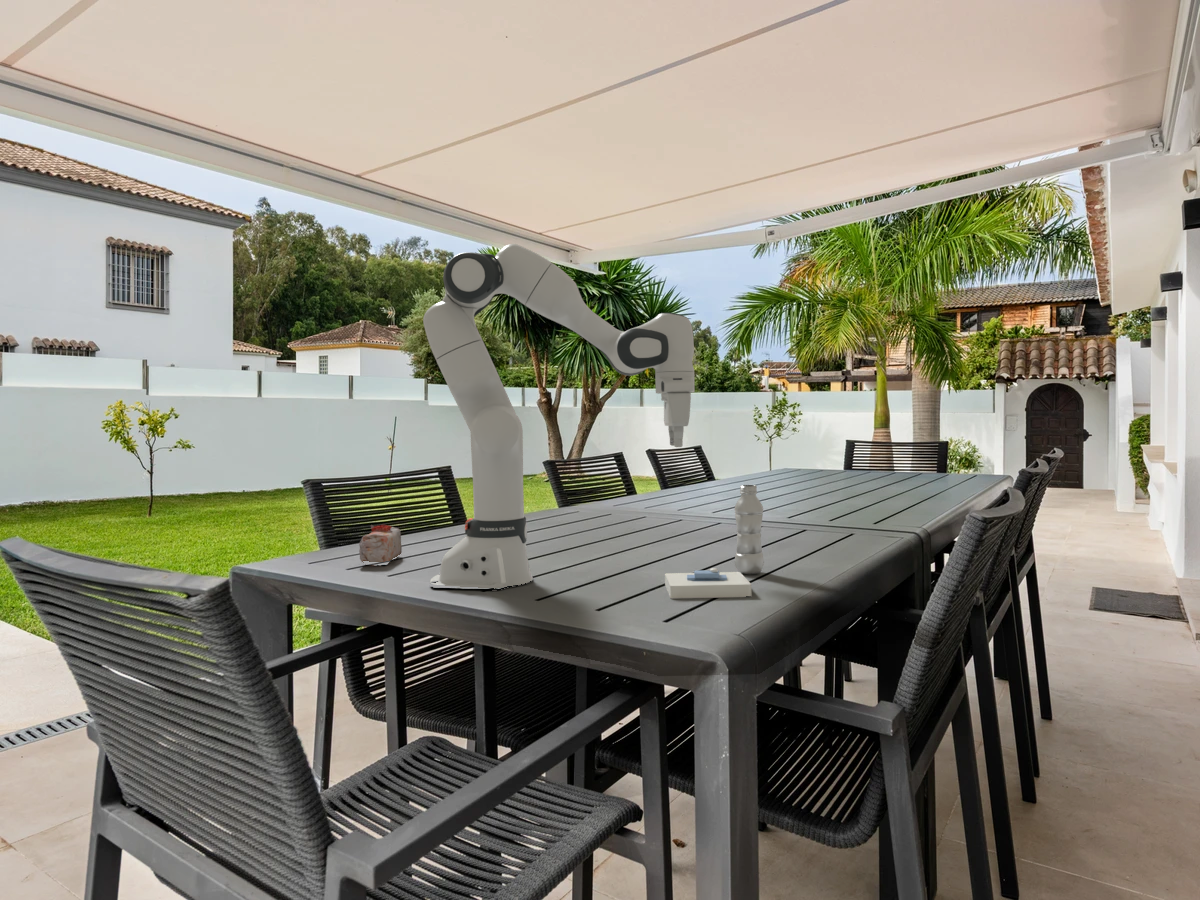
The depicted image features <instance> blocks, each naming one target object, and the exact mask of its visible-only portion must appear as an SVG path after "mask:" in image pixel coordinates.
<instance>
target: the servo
mask: <svg viewBox="0 0 1200 900" xmlns="http://www.w3.org/2000/svg"><path fill="white" fill-rule="evenodd" d="M693 573H694V575H687V580H694V581H719V580H727V577H726V575H719V569H718V568H715V567H714V568H713V567H712V568H709V570H704V569H703V570H693Z"/></svg>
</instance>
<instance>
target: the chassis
mask: <svg viewBox="0 0 1200 900" xmlns="http://www.w3.org/2000/svg"><path fill="white" fill-rule="evenodd" d="M687 575H694V572H677V573H676V572H673V573H672V572H671V573H670V572H669V573H668V572H666V573H664V586H665V589H666V590H667V593H668V596H669V598H670V599H711V598H712V599H713V598H716V599H717V598H718V599H719V598H747V597H746V596H751V597H752V583H751V582H750V581H749V580H748V579H747V578H746V577H745V575H743V573H741V572H738V571H722V572H721V571H720V572H719V575H726V577H727V580H719V581H694V580H687Z"/></svg>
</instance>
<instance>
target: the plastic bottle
mask: <svg viewBox="0 0 1200 900" xmlns="http://www.w3.org/2000/svg"><path fill="white" fill-rule="evenodd" d="M739 487H740V488H739V489H740V491H739V494H740V497H739V498H738V500H737V502H736V503H735V506H734V517H735V518H734V519H735V523H736V533H737V534H736V540H737V541H736V552H735V555H734V556H735V557H734V567H735V569H736V572H740V573H741V574H746V575H752V574H753V575H754V574H758V573H761V572H762V571H763V569H764V564H765V561H764V554H763V549H762V523H763V514H764V506H763V504H762V502H761V501H760V499H759V498H758V497H757V494H758V491H757V484H742V485H740V486H739Z"/></svg>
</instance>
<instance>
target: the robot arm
mask: <svg viewBox="0 0 1200 900" xmlns="http://www.w3.org/2000/svg"><path fill="white" fill-rule="evenodd" d="M442 275H443V276H442V279H443V285H444V291H445V293H444V297H443V298H442V300H440V301H439V302H437V303H434V304H433V305H431V306H430V307H429V308H428V309H427V310H426V311H425V313H424V315H423V318H422V319H423V321H422V322H423V327H424V331H425V334H426V335H425V336H426V338H427V341H428V345H429V347H430V350H431V352H432V354H433V357H434V359H435V361H436V363H437V366H438V367H439V370H440V372H441V374H442V376H443V378H444V380H445V382H446V385H447V387H448V389H449V391H450V393H451V395H452V397H453V399H454V401H455V403H456V405H457V407H458V408H459V411H460V413H461V415H462V417H463V419H464V420H465V423H466V425H467V427H468V429H469V432H470V433H469V434H470V451H471V469H472V486H473V487H472V488H473V489H472V493H473V494H472V495H473V496H472V498H473V518H472V517H471V518H470V517H469V518H468V519H467V520H466V521H465V523H464V532H465V533H464V534H465V535H466V536H465V537H463V538H462V539H461V540H459V541H458V542H457V543H456V544H454V546H453V547H451V548H450V549H449V550H448V551H447V552H445V554H444V555H443V557H442V559H441V563H440V569H439V574H440V575H439V574H438V573H437V574H436V575H434V576H433V577H431V578H430V580H429V584H430V583H431V582H433V581H438V582H436V583H431V584H433V585H445V586H460V587H478V588H494V589H495V588H503V587H507V586H512V587H514V586H513V585H518V586H522V585H525V583H526V584H529V583H531V582H532V581H533V580H534V577H533V574H532V571H531V568H530V564H529V559H528V558H529V557H528V553H527V541H528V540H527V539H528V522H527V518H526V516H525V504H524V502H525V501H524V499H525V498H524V495H525V494H524V441H523V439H524V437H523V425H522V422H521V420H520V418H519V416H518V415H517V413H516V411H515V409H514V407H513V404H512V402H511V400H510V398H509V396H508V392H507V391H506V389H505V387H504V384H503V382H502V380H501V378H500V376H499V373H498V371H497V368H496V366H495V365H494V363H493V360H492V358H491V356H490V354H489V351H488V349H487V347H486V345H485V342H484V341H483V340H484V339H482V336H481V335H480V332H479V330H478V327H477V325H476V321H475V317H476V316H477V315H478V314H480V313H481V312H482V311H483V310H485V309H486V307H488V306H489V305H490V303H491V302H492V300H493V298H494V296H495V295H498V294H499V295H500V294H504V295H507V296H509V297H511V298H514V299H515V300H517V301H518V302H519V303H521V304H522V305H524V306H525V307H526V308H528V309H530V310H532V311H533V312H534V313H537V314H539V315H541V316H542V317H544V318H546V319H548V320H549V321H550V320H551V321H553V322H555V323H557V324H559V325H561V326H563V327H566V328H567V329H569V330H571V331H573V332H574V333H575V334H576V335H578V336H579V337H581V338H583V339H584V340H586V341H587V342H588V343H589V344H591V345H592V346H593V347H595V348H597V349H598V350H599V351H600V352H602V354H603V355H604V356H605V358H606V359H607V361H608V363H609V365H610V366H611V367H612V368H613V369H614V370H615V371H616V372H617V373H619V374H620V375H622V376H628V377H631V376H637V375H639V374H641V373H642V372H644V371H645V370H647V369H650V368H651V369H654V371H655V374H654V375H655V377H654V380H655V394H657V395H659V394H660V397H661V398H660V399H661V401H662V402H663V422H664V426H666V427H667V428H668V436H669V445H670V446H671V447H672V446H674V447H675V448H682V447H683V444H684V442H683V438H684V433H685V431H684V427H688V426H689V423H690V415H691V399H692V395H691V393H695V391H696V388H695V368H694V364H693V358H694V353H695V346H694V343H695V342H694V341H695V340H694V333H693V332H694V331H693V327H692V322H691V320H690V319H689V318H688V317H686V316H685V315H683V314H679V313H676V312H675V313H674V312H661V313H659V314H657V315H656V316H655V317H654V318H652V319H650V320H649V321H647V322H645V323H642V324H641V325H639V326H635V327H633V328H630V329H627V330H626V331H622V330H620V329H617V328H616V327H614V326H613V325H612V324H610V323H609V322H608V321H606V320H604V319H603V318H602V317H601V316H599V315H598V314H597V313H595V312H594V311H592V309H590V307H589V306H588V305H587V304H586V303H585V301H584V299H583V297H582V295H581V293H580V290H579V287H578V285H577V283H576V282H575V281H574V280H573V278H571V277H570V275H568V274H567V273H566V271H564V270H563V269H562V268H560V267H559V266H557V265H556V264H554V263H553V262H551V261H550V260H548V259H547V258H545V257H543V256H542V255H540V254H538V253H537V252H535V251H533V250H531V249H528V248H526V247H524V246H521V245H519V244H516V243H510V244H507V245H505V246H503V247H502V248H501V249H500V250H499V251H497V253H496V254H495V255H494V254H492V253H479V252H468V251H467V252H461V253H458V254H456V255H454V256H453V257H452V258H451V259H449V261H448V262H447V264H446V265H445V267H444V270H443V274H442ZM530 581H531V582H530ZM521 584H522V585H521ZM507 588H508V587H507Z"/></svg>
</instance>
